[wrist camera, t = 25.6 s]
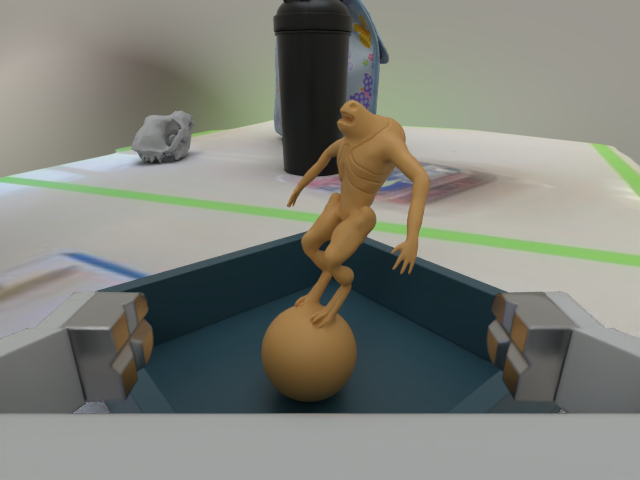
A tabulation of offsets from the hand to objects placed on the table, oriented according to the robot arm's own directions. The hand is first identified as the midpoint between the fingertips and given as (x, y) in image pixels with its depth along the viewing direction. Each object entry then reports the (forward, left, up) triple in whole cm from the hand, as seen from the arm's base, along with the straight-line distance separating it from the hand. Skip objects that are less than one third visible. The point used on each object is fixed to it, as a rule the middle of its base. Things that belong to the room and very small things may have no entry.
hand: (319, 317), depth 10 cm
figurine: (+5, +5, -8) cm, 10 cm away
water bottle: (+34, +42, -8) cm, 54 cm away
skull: (+21, +63, -8) cm, 66 cm away
